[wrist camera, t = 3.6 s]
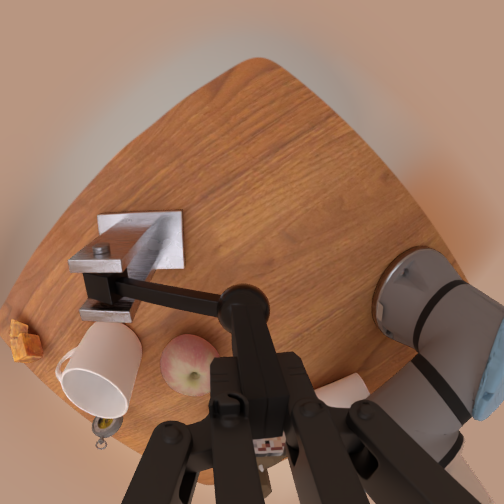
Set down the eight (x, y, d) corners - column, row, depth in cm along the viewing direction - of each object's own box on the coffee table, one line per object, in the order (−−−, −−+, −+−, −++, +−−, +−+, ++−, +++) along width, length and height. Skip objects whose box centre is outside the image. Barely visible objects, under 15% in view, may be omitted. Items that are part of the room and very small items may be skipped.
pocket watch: (86, 371, 36) (67, 415, 26) (132, 395, 38) (121, 442, 29) (77, 395, 37) (61, 436, 28) (118, 416, 40) (108, 459, 30)
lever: (276, 278, 17) (264, 302, 14) (273, 322, 18) (262, 351, 15) (104, 254, 21) (77, 267, 18) (110, 289, 22) (85, 305, 19)
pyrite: (23, 324, 33) (36, 317, 33) (31, 363, 31) (45, 357, 31) (2, 320, 28) (14, 312, 29) (9, 362, 26) (22, 356, 27)
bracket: (182, 209, 30) (159, 246, 17) (185, 265, 32) (169, 333, 19) (100, 213, 29) (36, 250, 16) (107, 266, 31) (56, 327, 18)
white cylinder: (314, 451, 31) (382, 422, 31) (293, 392, 37) (357, 366, 37) (317, 447, 40) (369, 426, 40) (300, 402, 47) (350, 381, 47)
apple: (230, 354, 37) (235, 395, 30) (184, 372, 37) (181, 413, 30) (202, 312, 35) (200, 352, 27) (153, 334, 35) (142, 373, 27)
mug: (62, 317, 32) (28, 362, 22) (135, 316, 34) (113, 370, 24) (81, 363, 35) (58, 411, 25) (149, 365, 36) (137, 421, 26)
